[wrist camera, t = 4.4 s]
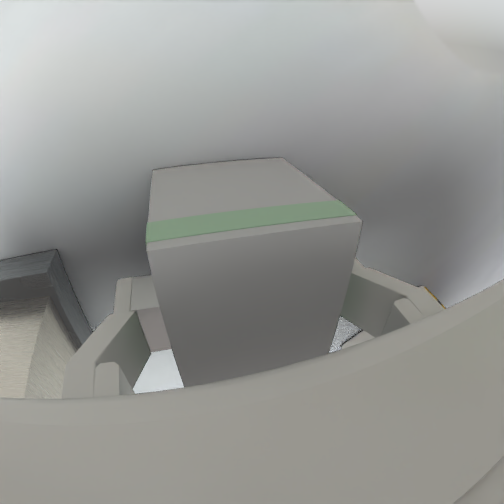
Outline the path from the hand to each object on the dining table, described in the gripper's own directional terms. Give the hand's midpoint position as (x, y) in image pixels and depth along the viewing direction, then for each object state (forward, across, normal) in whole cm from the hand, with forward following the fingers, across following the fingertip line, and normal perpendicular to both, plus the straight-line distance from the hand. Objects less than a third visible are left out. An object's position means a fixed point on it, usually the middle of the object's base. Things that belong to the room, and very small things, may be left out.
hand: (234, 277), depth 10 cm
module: (+2, 0, 0) cm, 2 cm away
